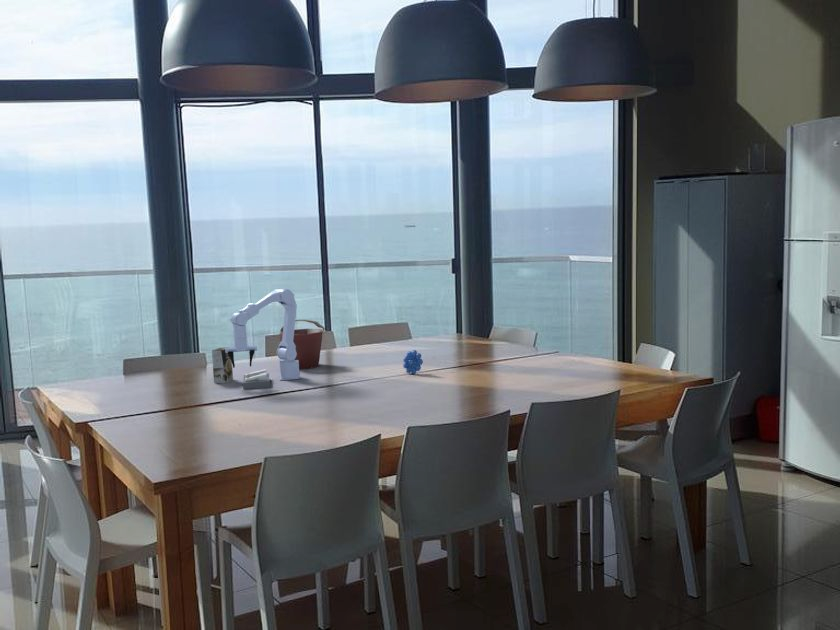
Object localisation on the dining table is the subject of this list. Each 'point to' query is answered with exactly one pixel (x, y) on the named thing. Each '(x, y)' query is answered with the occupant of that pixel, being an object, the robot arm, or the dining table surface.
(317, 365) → the bucket
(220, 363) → the coffee box
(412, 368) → the blue lobed wheel
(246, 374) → the rocker
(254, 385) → the switch panel
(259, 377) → the rocker
